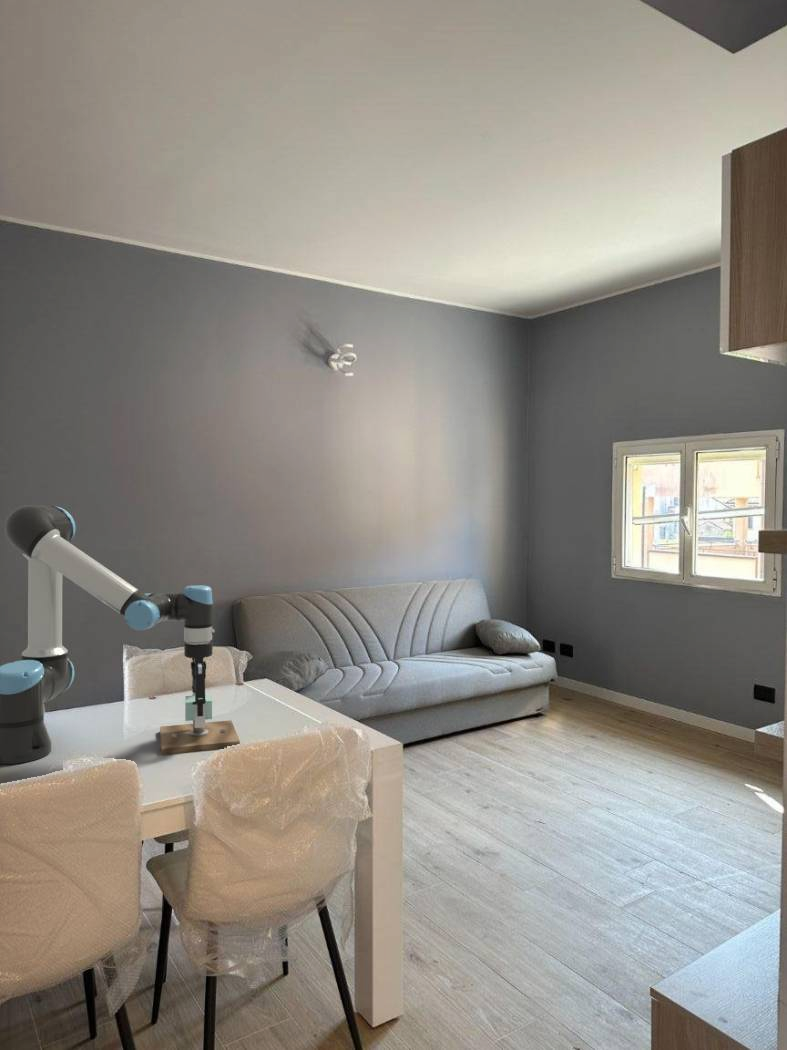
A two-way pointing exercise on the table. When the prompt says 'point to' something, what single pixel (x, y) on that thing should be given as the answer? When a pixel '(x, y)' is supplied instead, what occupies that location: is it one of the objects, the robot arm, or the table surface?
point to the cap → (191, 708)
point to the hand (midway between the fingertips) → (198, 721)
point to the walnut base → (197, 737)
